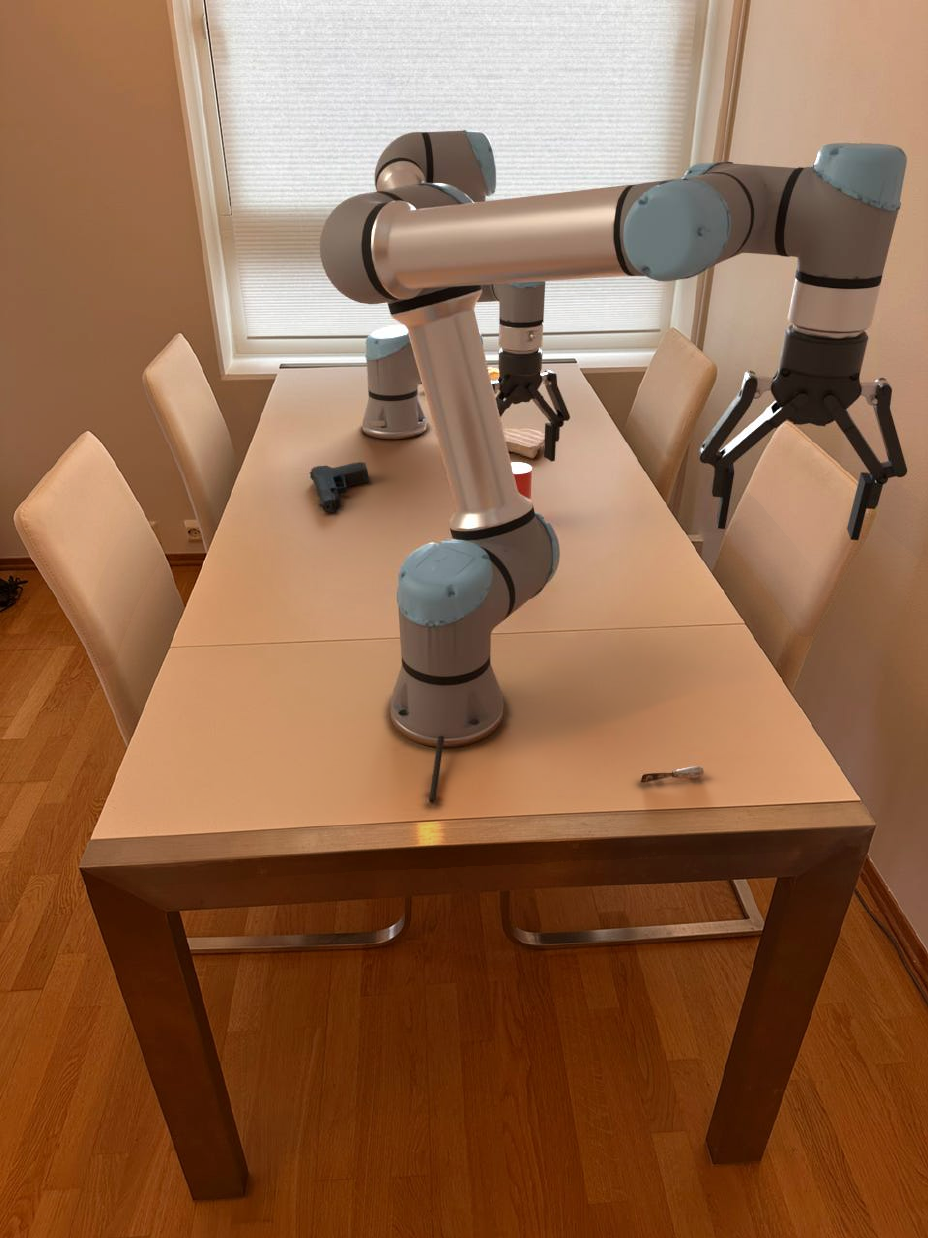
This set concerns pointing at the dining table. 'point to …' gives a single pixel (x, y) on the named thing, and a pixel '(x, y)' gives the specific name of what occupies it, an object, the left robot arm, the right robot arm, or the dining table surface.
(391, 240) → the right robot arm
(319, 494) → the handgun
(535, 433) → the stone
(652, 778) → the putty knife
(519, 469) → the can
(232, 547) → the dining table surface
